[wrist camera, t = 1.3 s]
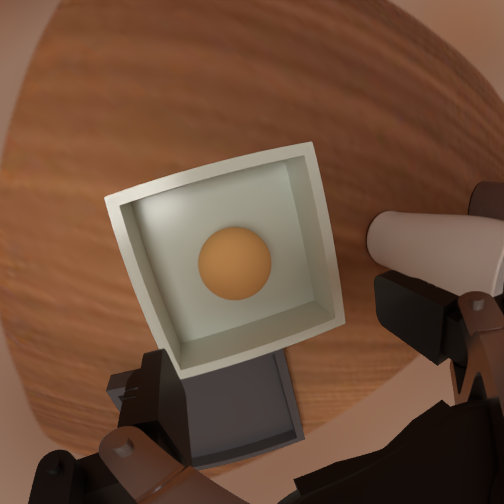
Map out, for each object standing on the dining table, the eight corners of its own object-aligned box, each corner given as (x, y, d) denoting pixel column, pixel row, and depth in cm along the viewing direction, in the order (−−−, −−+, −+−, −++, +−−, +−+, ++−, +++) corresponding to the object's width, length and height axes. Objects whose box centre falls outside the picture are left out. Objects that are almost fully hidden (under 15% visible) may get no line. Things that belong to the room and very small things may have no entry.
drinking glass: (380, 284, 28) (497, 348, 13) (344, 238, 26) (481, 289, 11) (418, 236, 28) (537, 271, 13) (387, 188, 25) (524, 201, 11)
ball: (252, 215, 22) (270, 222, 17) (267, 275, 24) (288, 297, 19) (188, 233, 22) (189, 246, 17) (207, 294, 23) (213, 321, 18)
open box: (287, 150, 23) (312, 141, 18) (319, 300, 26) (345, 323, 21) (121, 195, 21) (104, 197, 16) (175, 347, 24) (174, 381, 19)
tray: (273, 329, 26) (281, 342, 23) (297, 425, 29) (305, 439, 27) (111, 375, 23) (106, 390, 21) (169, 460, 27) (169, 475, 25)
